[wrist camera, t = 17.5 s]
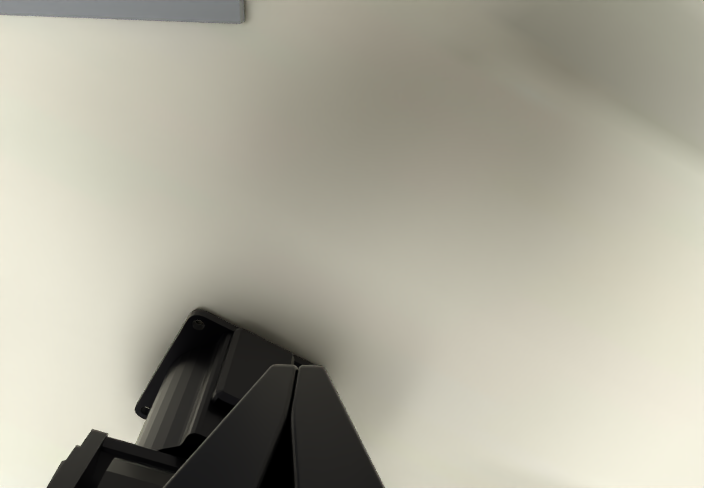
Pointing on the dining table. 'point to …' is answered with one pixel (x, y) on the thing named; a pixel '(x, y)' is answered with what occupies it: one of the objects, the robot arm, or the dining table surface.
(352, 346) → the dining table surface
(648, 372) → the dining table surface
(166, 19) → the mat
